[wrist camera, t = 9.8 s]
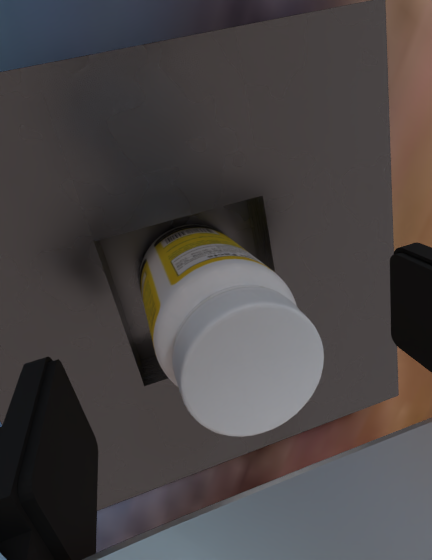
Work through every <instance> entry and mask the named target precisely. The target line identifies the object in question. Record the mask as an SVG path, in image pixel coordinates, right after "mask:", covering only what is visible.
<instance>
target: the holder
mask: <svg viewBox="0 0 432 560" xmlns="http://www.w3.org/2000/svg"><path fill="white" fill-rule="evenodd" d="M189 224H199V225H205V226H209V227H212V228H215V229H217V230H219V231H221V232H222V233H224V234H225V235H226V236H228V237H229V238H230V239H232V240H233V241H234V242H236V243H237V244H238V245H240V246H241V247H242V248H244V249H245V250H246V251H247V252H249V253H250V254H251V255H253V256H254V257H255V258H257V259H258V260H259V261H261V262H262V263H263V264H264V265H266V266H267V267H269V268H270V269H271V270H272V271H274V272H275V273H276V274H277V275H278V276H279V277H280V278H281V279H282V280H283V281H284V282H285V283H286V285H287V286H288V288H289V289H290V291H291V293H292V295H293V297H294V299H295V302H296V305H297V307H298V308H299V310H300V311H301V312H302V313H303V314H304V315H305V316H306V317H307V318H308V319H309V320H310V321H311V322H312V323H313V325H314V326H315V328H316V330H317V331H318V333H319V336H320V338H321V341H322V345H323V350H324V363H323V370H322V374H321V378H320V381H319V383H318V385H317V387H316V389H315V391H314V393H313V395H312V396H311V398H310V399H309V401H308V402H307V403H306V404H305V406H304V407H303V408H302V409H301V410H299V412H298V413H297V414H295V415H294V416H293V417H292V418H290V419H289V420H288V421H286V422H285V423H283V424H282V425H280V426H278V427H276V428H274V429H272V430H269V431H266V432H264V433H260V434H257V435H252V436H244V437H238V436H227V435H222V434H218V433H215V432H213V431H211V430H209V429H207V428H206V427H204V426H203V425H201V424H200V423H199V422H197V421H196V420H195V419H194V418H193V416H192V415H191V414H190V413H189V411H188V410H187V408H186V406H185V405H184V402H183V399H182V397H181V394H180V391H179V388H178V387H177V386H176V385H175V384H174V383H173V382H172V381H171V380H170V379H169V378H168V377H167V376H166V374H165V373H164V371H163V370H162V368H161V366H160V365H159V362H158V360H157V358H156V354H155V350H154V346H153V342H152V337H151V333H150V329H149V325H148V320H147V316H146V312H145V308H144V303H143V299H142V295H141V291H140V285H139V273H140V267H141V264H142V261H143V258H144V256H145V254H146V252H147V250H148V249H149V247H150V246H151V245H152V243H153V242H154V241H155V240H156V239H157V238H159V237H160V236H161V235H162V234H164V233H165V232H167V231H169V230H171V229H173V228H176V227H179V226H183V225H189ZM393 254H394V245H393V216H392V186H391V156H390V126H389V97H388V67H387V37H386V7H385V0H371V1H366V2H361V3H356V4H350V5H345V6H340V7H335V8H330V9H324V10H319V11H314V12H309V13H304V14H299V15H293V16H288V17H283V18H278V19H273V20H268V21H262V22H257V23H252V24H247V25H242V26H237V27H231V28H226V29H221V30H216V31H211V32H205V33H200V34H195V35H190V36H185V37H180V38H174V39H169V40H164V41H159V42H154V43H149V44H143V45H138V46H133V47H128V48H123V49H118V50H112V51H107V52H102V53H97V54H92V55H86V56H81V57H76V58H71V59H66V60H61V61H55V62H50V63H45V64H40V65H35V66H30V67H24V68H19V69H14V70H9V71H4V72H0V422H1V423H2V425H3V422H4V419H5V417H6V414H7V411H8V408H9V405H10V402H11V399H12V396H13V394H14V391H15V388H16V385H17V382H18V379H19V376H20V374H21V371H22V368H23V366H24V364H26V363H29V362H32V361H35V360H38V359H42V358H45V357H50V358H51V359H52V360H53V361H55V360H58V359H59V360H60V361H61V363H62V365H63V367H64V369H65V371H66V373H67V376H68V378H69V380H70V382H71V384H72V387H73V389H74V391H75V393H76V396H77V398H78V400H79V402H80V404H81V407H82V409H83V411H84V413H85V415H86V418H87V420H88V422H89V424H90V426H91V429H92V431H93V433H94V435H95V438H96V441H97V445H98V485H97V511H98V510H100V509H103V508H105V507H108V506H111V505H113V504H116V503H119V502H121V501H124V500H126V499H129V498H132V497H134V496H137V495H139V494H142V493H145V492H147V491H150V490H153V489H155V488H158V487H160V486H163V485H166V484H168V483H171V482H173V481H176V480H179V479H181V478H184V477H186V476H189V475H192V474H194V473H197V472H200V471H202V470H205V469H207V468H210V467H213V466H215V465H218V464H220V463H223V462H226V461H228V460H231V459H234V458H236V457H239V456H241V455H244V454H247V453H249V452H252V451H254V450H257V449H260V448H262V447H265V446H267V445H270V444H273V443H275V442H278V441H281V440H283V439H286V438H288V437H291V436H294V435H296V434H299V433H301V432H304V431H307V430H309V429H312V428H315V427H317V426H320V425H322V424H325V423H328V422H330V421H333V420H335V419H338V418H341V417H343V416H346V415H349V414H351V413H354V412H356V411H359V410H362V409H364V408H367V407H369V406H372V405H375V404H377V403H380V402H382V401H385V400H388V399H390V398H393V397H396V396H398V395H399V394H398V365H397V345H396V344H395V343H394V341H393V340H392V337H391V307H390V258H391V256H392V255H393Z"/></svg>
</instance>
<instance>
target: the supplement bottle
mask: <svg viewBox="0 0 432 560" xmlns="http://www.w3.org/2000/svg"><path fill="white" fill-rule="evenodd" d="M139 285H140V291H141V295H142V299H143V303H144V308H145V312H146V316H147V320H148V325H149V329H150V333H151V337H152V342H153V346H154V350H155V354H156V358H157V360H158V362H159V365H160V366H161V368H162V370H163V371H164V373H165V374H166V376H167V377H168V378H169V379H170V380H171V381H172V382H173V383H174V384H175V385H176V386H177V387H178V388H179V391H180V394H181V397H182V399H183V402H184V405H185V406H186V408H187V410H188V411H189V413H190V414H191V415H192V416H193V418H194V419H195V420H196V421H197V422H199V423H200V424H201V425H203V426H204V427H206V428H207V429H209V430H211V431H213V432H215V433H218V434H222V435H227V436H238V437H244V436H252V435H257V434H260V433H264V432H266V431H269V430H272V429H274V428H276V427H278V426H280V425H282V424H283V423H285V422H286V421H288V420H289V419H290V418H292V417H293V416H294V415H295V414H297V413H298V412H299V410H301V409H302V408H303V407H304V406H305V404H306V403H307V402H308V401H309V399H310V398H311V396H312V395H313V393H314V391H315V389H316V387H317V385H318V383H319V381H320V378H321V374H322V370H323V363H324V350H323V345H322V341H321V338H320V336H319V333H318V331H317V330H316V328H315V326H314V325H313V323H312V322H311V321H310V320H309V319H308V318H307V317H306V316H305V315H304V314H303V313H302V312H301V311H300V310H299V308H298V307H297V305H296V302H295V299H294V297H293V295H292V293H291V291H290V289H289V288H288V286H287V285H286V283H285V282H284V281H283V280H282V279H281V278H280V277H279V276H278V275H277V274H276V273H275V272H274V271H272V270H271V269H270V268H269V267H267V266H266V265H264V264H263V263H262V262H261V261H259V260H258V259H257V258H255V257H254V256H253V255H251V254H250V253H249V252H247V251H246V250H245V249H244V248H242V247H241V246H240V245H238V244H237V243H236V242H234V241H233V240H232V239H230V238H229V237H228V236H226V235H225V234H224V233H222V232H221V231H219V230H217V229H215V228H212V227H209V226H205V225H199V224H189V225H183V226H179V227H176V228H173V229H171V230H169V231H167V232H165V233H164V234H162V235H161V236H160V237H159V238H157V239H156V240H155V241H154V242H153V243H152V245H151V246H150V247H149V249H148V250H147V252H146V254H145V256H144V258H143V261H142V264H141V267H140V273H139Z"/></svg>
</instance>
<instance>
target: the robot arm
mask: <svg viewBox="0 0 432 560" xmlns="http://www.w3.org/2000/svg"><path fill="white" fill-rule="evenodd" d="M390 307H391V337H392V340H393V341H394V343H395V344H396V345H397V346H398V347H399V348H400V349H402V350H403V351H404V352H406V353H407V354H408V355H409V356H411V357H412V358H413V359H415V360H416V361H417V362H419V363H420V364H421V365H423V366H424V367H425V368H427V369H428V370H429V371H431V372H432V248H431V247H428V246H426V245H423V244H420V243H413V244H410V245H407V246H403V247H400V248H397V249H396V250H395V251H394V254H393V255H392V256H391V258H390ZM97 485H98V445H97V441H96V438H95V435H94V433H93V431H92V429H91V426H90V424H89V422H88V420H87V418H86V415H85V413H84V411H83V409H82V407H81V404H80V402H79V400H78V398H77V396H76V393H75V391H74V389H73V387H72V384H71V382H70V380H69V378H68V376H67V373H66V371H65V369H64V367H63V365H62V363H61V361H60V360H59V359H58V360H55V361H53V360H52V359H51V358H50V357H45V358H42V359H38V360H35V361H32V362H29V363H26V364H24V366H23V368H22V371H21V374H20V376H19V379H18V382H17V385H16V388H15V391H14V394H13V396H12V399H11V402H10V405H9V408H8V411H7V414H6V417H5V419H4V422H3V425H2V427H0V560H432V418H429V419H427V420H424V421H422V422H419V423H417V424H414V425H412V426H409V427H406V428H404V429H401V430H399V431H396V432H394V433H391V434H389V435H386V436H383V437H381V438H378V439H376V440H373V441H371V442H368V443H366V444H363V445H361V446H358V447H356V448H353V449H350V450H348V451H345V452H343V453H340V454H338V455H335V456H333V457H330V458H328V459H325V460H323V461H320V462H317V463H315V464H312V465H310V466H307V467H305V468H302V469H300V470H297V471H295V472H292V473H290V474H287V475H285V476H282V477H280V478H277V479H275V480H272V481H270V482H267V483H265V484H262V485H260V486H257V487H255V488H252V489H250V490H247V491H245V492H242V493H240V494H237V495H235V496H232V497H230V498H227V499H225V500H222V501H220V502H217V503H215V504H212V505H210V506H207V507H205V508H202V509H200V510H197V511H195V512H192V513H190V514H188V515H185V516H183V517H180V518H178V519H175V520H173V521H171V522H168V523H166V524H163V525H161V526H158V527H156V528H154V529H151V530H149V531H146V532H144V533H142V534H139V535H137V536H134V537H132V538H130V539H127V540H125V541H123V542H121V543H118V544H116V545H114V546H111V547H109V548H107V549H105V550H102V551H100V552H98V553H96V523H97Z"/></svg>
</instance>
